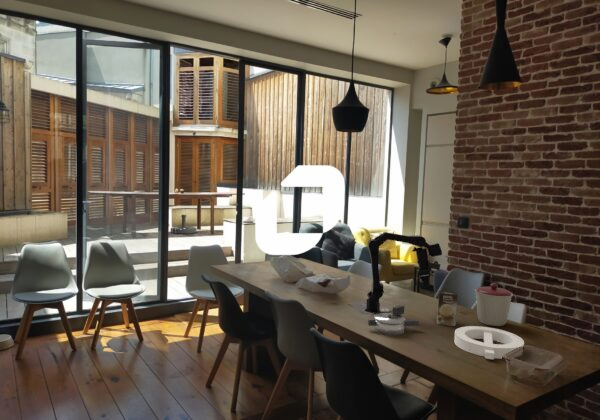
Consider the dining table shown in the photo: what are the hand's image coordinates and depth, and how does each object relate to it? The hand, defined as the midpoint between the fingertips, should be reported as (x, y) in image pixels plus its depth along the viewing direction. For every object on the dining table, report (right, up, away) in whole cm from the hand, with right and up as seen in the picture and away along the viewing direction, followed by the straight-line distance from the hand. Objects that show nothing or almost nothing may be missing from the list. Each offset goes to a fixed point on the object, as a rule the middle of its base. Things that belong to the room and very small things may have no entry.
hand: (428, 287), depth 238 cm
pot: (-25, -16, -27) cm, 40 cm away
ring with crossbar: (+13, -19, -44) cm, 50 cm away
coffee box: (+5, -16, -14) cm, 22 cm away
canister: (+30, -17, -10) cm, 36 cm away
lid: (-25, -11, -26) cm, 38 cm away
